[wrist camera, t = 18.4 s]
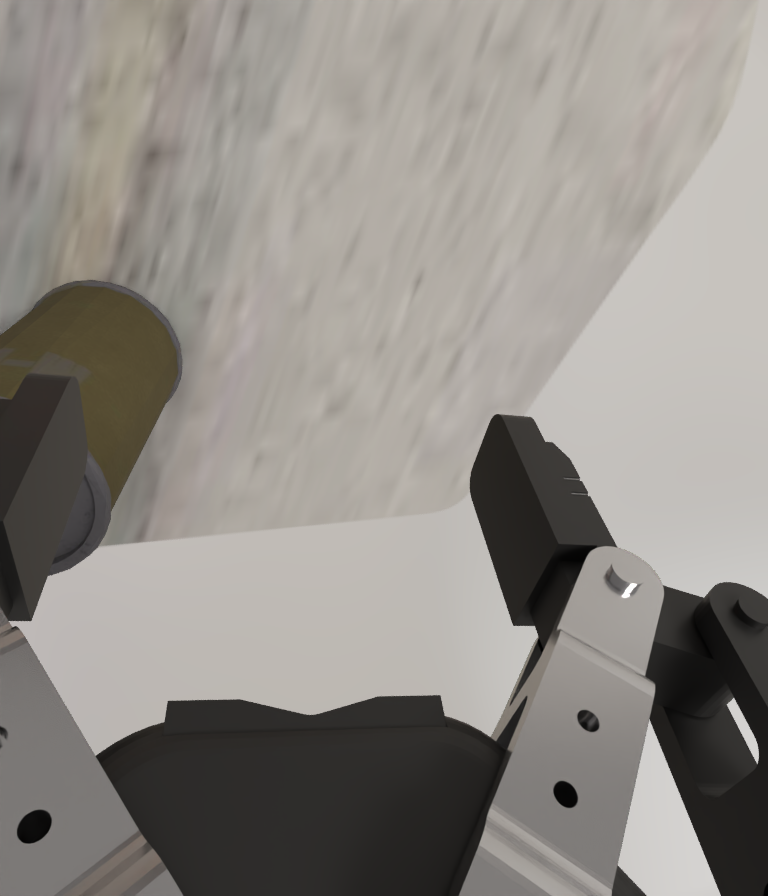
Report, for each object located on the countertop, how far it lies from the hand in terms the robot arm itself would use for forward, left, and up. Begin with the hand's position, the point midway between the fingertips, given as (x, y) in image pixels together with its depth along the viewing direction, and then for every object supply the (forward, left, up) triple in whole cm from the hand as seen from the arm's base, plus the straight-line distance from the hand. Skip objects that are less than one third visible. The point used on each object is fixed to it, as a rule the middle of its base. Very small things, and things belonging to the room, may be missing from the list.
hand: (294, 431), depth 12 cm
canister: (-13, -14, -31) cm, 36 cm away
